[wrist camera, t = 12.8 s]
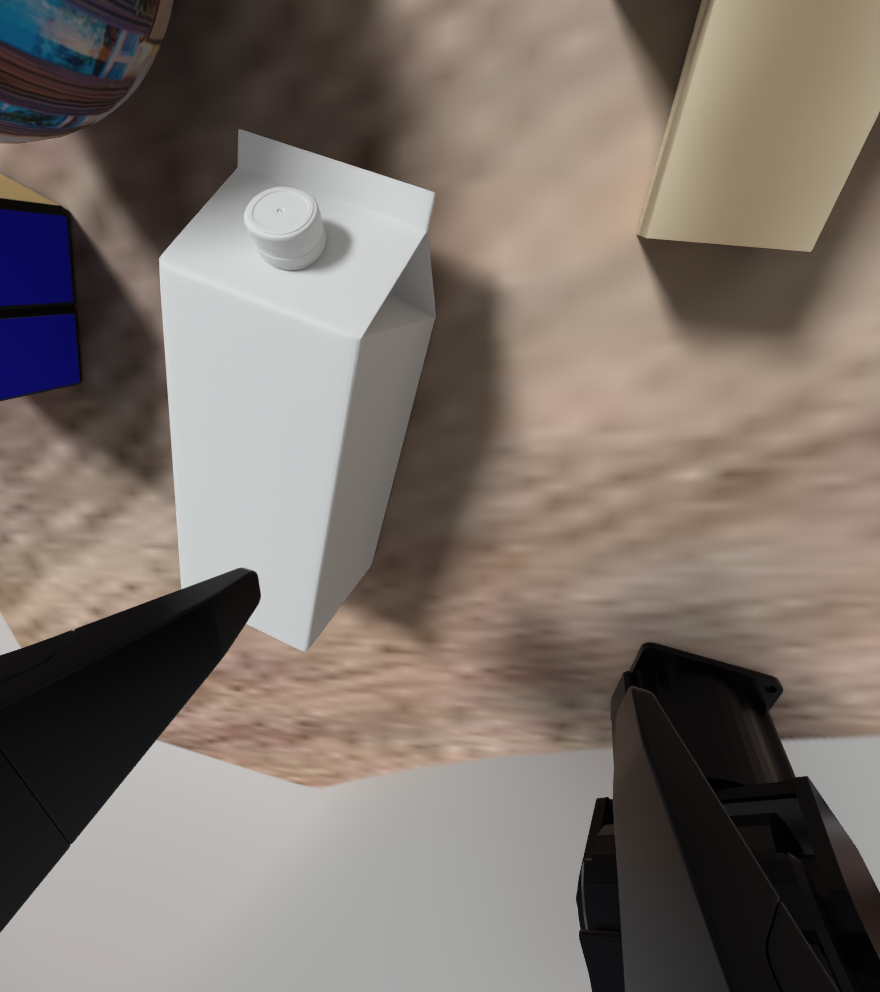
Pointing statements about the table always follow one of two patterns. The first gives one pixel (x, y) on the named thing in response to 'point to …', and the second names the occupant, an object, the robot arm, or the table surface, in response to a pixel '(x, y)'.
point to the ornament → (72, 61)
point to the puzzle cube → (35, 295)
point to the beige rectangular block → (765, 122)
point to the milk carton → (293, 374)
